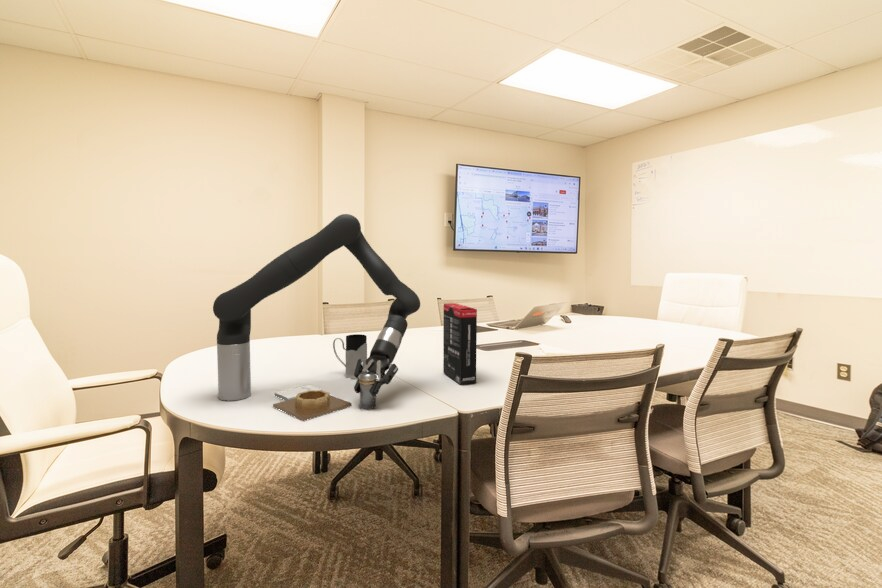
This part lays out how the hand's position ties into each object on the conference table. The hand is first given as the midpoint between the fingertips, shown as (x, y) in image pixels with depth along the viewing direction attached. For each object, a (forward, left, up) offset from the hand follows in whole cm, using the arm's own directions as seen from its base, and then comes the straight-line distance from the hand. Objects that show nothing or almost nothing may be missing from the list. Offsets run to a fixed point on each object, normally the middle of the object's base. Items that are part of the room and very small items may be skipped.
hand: (364, 393), depth 126 cm
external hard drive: (-26, -5, -5) cm, 27 cm away
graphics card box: (+1, +44, -5) cm, 44 cm away
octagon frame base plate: (-12, -9, -5) cm, 16 cm away
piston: (0, +2, -5) cm, 5 cm away
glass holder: (-32, +20, -5) cm, 38 cm away
